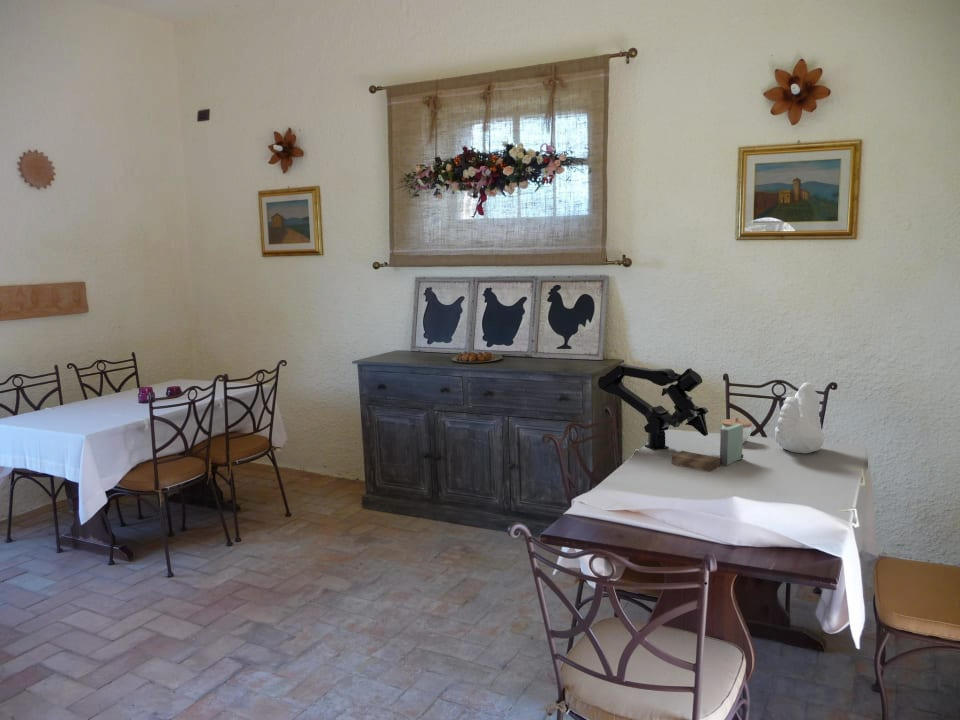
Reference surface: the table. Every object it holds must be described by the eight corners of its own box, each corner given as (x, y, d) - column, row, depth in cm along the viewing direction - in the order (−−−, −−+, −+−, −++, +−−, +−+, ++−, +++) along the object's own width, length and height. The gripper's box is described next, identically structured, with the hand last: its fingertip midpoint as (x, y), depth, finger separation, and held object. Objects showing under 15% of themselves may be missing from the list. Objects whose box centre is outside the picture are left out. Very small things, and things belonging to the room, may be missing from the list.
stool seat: (671, 463, 245) (671, 455, 244) (682, 459, 250) (682, 450, 250) (709, 471, 235) (710, 462, 235) (720, 466, 240) (720, 457, 240)
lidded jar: (715, 439, 276) (716, 416, 274) (739, 437, 279) (739, 413, 278) (733, 446, 265) (733, 421, 264) (757, 443, 269) (758, 419, 267)
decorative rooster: (795, 442, 269) (798, 377, 266) (834, 451, 256) (837, 383, 253) (751, 452, 257) (753, 384, 254) (789, 462, 244) (792, 390, 240)
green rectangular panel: (725, 465, 239) (726, 431, 238) (718, 464, 241) (719, 430, 239) (743, 457, 248) (744, 424, 247) (736, 456, 250) (737, 423, 249)
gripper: (672, 410, 268) (696, 445, 263) (653, 413, 253) (679, 450, 248) (696, 393, 263) (721, 428, 258) (678, 395, 248) (704, 432, 243)
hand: (706, 435), depth 252 cm, fingers closed
